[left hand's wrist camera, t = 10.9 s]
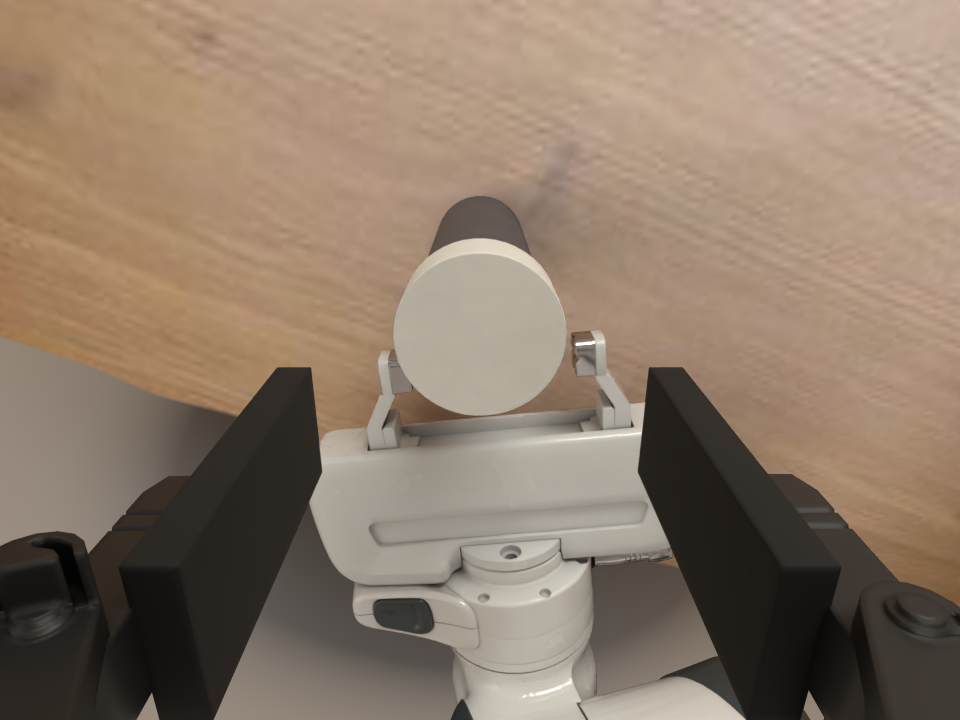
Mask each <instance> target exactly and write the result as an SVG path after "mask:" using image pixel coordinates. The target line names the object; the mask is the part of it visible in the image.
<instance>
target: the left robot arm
mask: <svg viewBox="0 0 960 720" xmlns="http://www.w3.org/2000/svg"><path fill="white" fill-rule="evenodd" d="M321 474H322V463H321V454H320V445H319V436H318V427H317V418H316V409H315V400H314V391H313V381H312V372H311V367H277V368H276V370H275V371H274V372H273V373H272V375H271V376H270V377H269V378H268V380H267V381H266V382H265V383H264V385H263V386H262V387H261V389H260V390H259V391H258V392H257V394H256V395H255V396H254V397H253V399H252V400H251V401H250V402H249V404H248V405H247V406H246V407H245V409H244V410H243V411H242V412H241V414H240V415H239V416H238V417H237V419H236V420H235V421H234V422H233V424H232V425H231V426H230V427H229V429H228V430H227V431H226V432H225V434H224V435H223V436H222V437H221V439H220V440H219V441H218V442H217V444H216V445H215V446H214V447H213V449H212V450H211V451H210V452H209V454H208V455H207V456H206V458H205V459H204V460H203V461H202V462H201V464H200V465H199V466H198V467H197V469H196V470H195V471H194V473H193V474H192V475H191V476H168V477H167V478H165V479H164V480H162V481H160V482H159V483H157V484H156V485H154V486H152V487H151V488H149V489H148V490H146V491H144V492H143V493H142V494H141V495H140V496H139V498H138V499H137V500H136V501H135V502H134V503H133V504H132V505H131V507H130V508H129V509H128V510H127V511H126V515H123V516H122V517H121V518H120V519H119V520H118V521H117V522H116V523H115V525H114V526H113V527H112V531H108V532H107V534H106V535H105V536H104V537H103V538H102V539H101V540H100V541H99V543H98V544H97V545H96V546H95V547H94V548H93V549H92V550H91V551H90V553H89V554H88V553H87V549H86V546H85V542H84V540H82V539H81V538H79V537H78V536H77V535H75V534H72V533H65V532H59V531H56V532H47V533H38V534H34V535H30V536H26V537H23V538H20V539H16V540H13V541H10V542H8V543H6V544H4V545H2V546H0V720H136V719H137V718H138V716H139V714H140V712H141V710H142V709H143V707H144V705H145V703H146V702H147V700H148V698H149V696H150V695H151V693H152V694H153V697H154V701H155V705H156V709H157V712H158V716H159V720H214V718H215V715H216V713H217V711H218V708H219V706H220V704H221V702H222V699H223V697H224V695H225V693H226V690H227V688H228V686H229V683H230V681H231V679H232V677H233V674H234V672H235V670H236V667H237V665H238V663H239V661H240V658H241V656H242V654H243V652H244V649H245V647H246V645H247V642H248V640H249V638H250V636H251V633H252V631H253V629H254V627H255V624H256V622H257V620H258V617H259V615H260V613H261V611H262V608H263V606H264V604H265V601H266V599H267V597H268V595H269V592H270V590H271V588H272V586H273V583H274V581H275V579H276V576H277V574H278V572H279V570H280V567H281V565H282V563H283V561H284V558H285V556H286V554H287V551H288V549H289V547H290V545H291V542H292V540H293V538H294V535H295V533H296V531H297V529H298V526H299V524H300V522H301V520H302V517H303V515H304V513H305V511H306V508H307V506H308V504H309V501H310V499H311V497H312V495H313V492H314V490H315V488H316V486H317V483H318V481H319V479H320V476H321ZM638 474H639V476H640V479H641V481H642V483H643V486H644V488H645V490H646V492H647V495H648V497H649V499H650V501H651V504H652V506H653V508H654V511H655V513H656V515H657V517H658V520H659V522H660V524H661V526H662V529H663V531H664V533H665V536H666V538H667V540H668V542H669V545H670V547H671V549H672V551H673V554H674V556H675V558H676V561H677V563H678V565H679V567H680V570H681V572H682V574H683V576H684V579H685V581H686V583H687V586H688V588H689V590H690V592H691V595H692V597H693V599H694V602H695V604H696V606H697V608H698V611H699V613H700V615H701V617H702V620H703V622H704V624H705V627H706V629H707V631H708V633H709V636H710V638H711V640H712V642H713V645H714V647H715V649H716V652H717V654H718V656H719V658H720V661H721V663H722V665H723V668H724V670H725V672H726V674H727V677H728V679H729V681H730V683H731V686H732V688H733V690H734V693H735V695H736V697H737V699H738V702H739V704H740V706H741V708H742V711H743V713H744V715H745V718H746V720H801V716H802V712H803V709H804V705H805V701H806V698H807V694H808V690H809V691H810V693H811V695H812V697H813V698H814V700H815V702H816V704H817V705H818V707H819V709H820V711H821V713H822V714H823V716H824V720H960V607H958V606H957V605H956V604H955V603H953V602H952V601H950V600H948V599H946V598H944V597H942V596H940V595H938V594H937V593H935V592H933V591H931V590H928V589H925V588H922V587H919V586H916V585H913V584H910V583H904V582H899V581H898V580H897V579H896V578H895V576H894V575H893V574H892V573H891V572H890V571H889V570H888V569H887V568H886V566H885V565H884V564H883V563H882V562H881V561H880V560H879V559H878V557H877V556H876V555H875V554H874V553H873V552H872V551H871V550H870V549H869V547H868V546H867V545H866V544H865V543H864V542H863V541H862V540H861V538H860V537H859V536H858V535H857V534H856V533H855V532H854V531H853V530H852V529H849V527H848V524H847V523H846V522H845V521H844V519H843V518H842V517H841V516H840V515H839V514H838V513H835V512H834V508H833V507H832V506H831V505H830V504H829V503H828V502H827V501H826V499H825V498H824V497H823V496H822V495H821V494H820V493H819V492H818V490H816V489H814V488H813V487H811V486H810V485H808V484H806V483H805V482H803V481H802V480H800V479H798V478H797V477H795V476H794V475H792V474H767V472H766V471H765V470H764V469H763V467H762V466H761V465H760V464H759V462H758V461H757V460H756V459H755V457H754V456H753V455H752V454H751V452H750V451H749V450H748V449H747V447H746V446H745V445H744V444H743V442H742V441H741V440H740V439H739V437H738V436H737V435H736V434H735V432H734V431H733V430H732V429H731V427H730V426H729V425H728V424H727V422H726V421H725V420H724V419H723V417H722V416H721V415H720V414H719V412H718V411H717V410H716V409H715V407H714V406H713V405H712V404H711V402H710V401H709V400H708V399H707V397H706V396H705V395H704V394H703V392H702V391H701V390H700V389H699V387H698V386H697V385H696V383H695V382H694V381H693V380H692V378H691V377H690V376H689V375H688V373H687V372H686V371H685V370H684V368H683V367H649V372H648V381H647V391H646V400H645V409H644V418H643V427H642V436H641V445H640V454H639V463H638Z"/></svg>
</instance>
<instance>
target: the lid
mask: <svg viewBox="0 0 960 720" xmlns="http://www.w3.org/2000/svg"><path fill="white" fill-rule="evenodd" d="M393 338H394V347H395V352H396V356H397V359H398V362H399V365H400V367H401V369H402V370H403V372H404V374H405V376H406V377H407V379H408V380H409V382H410V383H411V384H412V385H413V386H414V387H415V389H416V390H417V391H418V392H420V393H421V394H422V395H423V396H424V397H425V398H427V399H428V400H430V401H431V402H433V403H434V404H436V405H438V406H440V407H442V408H444V409H447V410H450V411H452V412H456V413H460V414H464V415H473V416H488V415H496V414H500V413H504V412H508V411H511V410H513V409H516V408H518V407H520V406H522V405H524V404H526V403H527V402H529V401H530V400H532V399H533V398H535V397H536V396H537V395H538V394H539V393H540V392H542V391H543V390H544V389H545V387H546V386H547V385H548V384H549V383H550V382H551V380H552V379H553V377H554V376H555V374H556V373H557V371H558V368H559V366H560V364H561V362H562V359H563V356H564V352H565V347H566V338H567V330H566V320H565V316H564V312H563V309H562V306H561V304H560V301H559V299H558V297H557V294H556V292H555V289H554V287H553V285H552V282H551V281H550V279H549V277H548V275H547V273H546V272H545V271H544V269H543V268H542V267H541V266H540V264H539V263H538V262H537V261H536V260H535V259H534V258H532V257H531V256H530V255H528V254H527V253H526V252H524V251H523V250H521V249H519V248H517V247H516V246H513V245H511V244H508V243H506V242H502V241H498V240H493V239H486V238H474V239H467V240H461V241H458V242H454V243H451V244H449V245H447V246H444V247H442V248H441V249H439V250H437V251H436V252H434V253H433V254H432V255H430V256H429V257H428V258H426V259H425V260H424V261H423V262H422V264H421V265H420V266H419V267H418V268H417V269H416V271H415V272H414V274H413V275H412V277H411V279H410V281H409V282H408V285H407V287H406V289H405V292H404V294H403V296H402V299H401V301H400V304H399V306H398V309H397V312H396V316H395V321H394V330H393Z"/></svg>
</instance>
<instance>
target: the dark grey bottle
mask: <svg viewBox="0 0 960 720" xmlns="http://www.w3.org/2000/svg"><path fill="white" fill-rule="evenodd" d="M474 238H486V239H493V240H498V241H502V242H506V243H508V244H511V245H513V246H516V247H517V248H519V249H521V250H523V251H524V252H526V253H527V254H528V255H530V256H531V254H530V251H529V248H528V245H527V243H526V240H525V237H524V234H523V231H522V229H521V226H520V223H519V221H518V219H517V217H516V216H515V214H514V213H513V211H512V210H511V209H510V208H509V207H507V206H506V205H505V204H504V203H502V202H500V201H498V200H496V199H493V198H490V197H483V196H477V197H470V198H467V199H464V200H462V201H460V202H458V203H456V204H455V205H454V206H453V207H451V208H450V209H449V210H448V211H447V213H446V214H445V216H444V217H443V219H442V221H441V223H440V226H439V229H438V231H437V234H436V237H435V240H434V243H433V245H432V248H431V251H430V254H429V256H430V255H432V254H433V253H434V252H436V251H437V250H439V249H441V248H442V247H444V246H447V245H449V244H451V243H454V242H458V241H461V240H467V239H474ZM429 256H428V257H429ZM531 257H532V256H531Z"/></svg>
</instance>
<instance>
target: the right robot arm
mask: <svg viewBox="0 0 960 720" xmlns="http://www.w3.org/2000/svg"><path fill="white" fill-rule="evenodd" d="M571 345H572V347H573V349H572V351H571V356H572V365H573V368H575V373H576V376H577V377H580V376H594V378H595V379H596V381H597V382H598V384H599V385H600V387H601V388H602V389H603V390H597V391H596V392H595V397H596V407H588V408H576V409H565V410H554V411H543V412H532V413H521V414H510V415H499V416H488V417H477V418H466V419H454V420H443V421H432V422H421V423H410V424H402V423H401V418H400V412H399V410H398V409H390V407H391V405H392V402H393V400H394V398H395V395H396V394H398V393H407V392H412V390H413V387H414V386H413V385H412V384H411V383H410V382H409V380H408V379H407V377H406V376H405V374H404V372H403V370H402V369H401V367H400V365H399V362H398V359H397V356H396V352H395V350H385V351H381V353H380V356H379V358H378V370H379V376H380V382H381V387H382V391H381V393H380V395H379V398H378V400H377V403H376V405H375V407H374V410H373V412H372V415H371V418H370V420H369V423H368V426H367V427H365V428H354V429H342V430H333V431H329V432H328V433H326V434H325V435H324V437H323V438H322V439H321V441H320V442H319V445H320V454H321V463H322V474H321V476H320V479H319V481H318V483H317V486H316V488H315V490H314V492H313V495H312V497H311V499H310V501H309V504H310V508H311V511H312V514H313V517H314V520H315V523H316V526H317V529H318V532H319V534H320V537H321V539H322V542H323V544H324V547H325V549H326V551H327V554H328V556H329V558H330V560H331V561H332V563H333V564H334V566H335V567H336V569H337V570H338V571H339V572H340V573H341V574H342V575H344V576H345V577H346V578H348V579H350V580H352V581H354V582H355V584H354V592H353V612H354V615H355V618H356V619H357V621H358V622H359V623H361V624H362V625H364V626H367V627H371V628H376V629H382V630H388V631H394V632H399V633H405V634H409V635H414V636H419V637H423V638H427V639H430V640H434V641H437V642H440V643H444V644H446V645H449V646H451V648H452V650H453V652H454V653H455V655H454V659H453V668H452V678H453V686H454V692H455V698H456V703H457V707H456V709H455V711H454V713H453V715H452V718H451V720H746V718H745V715H744V713H743V711H742V708H741V706H740V704H739V702H738V699H737V697H736V695H735V693H734V690H733V688H732V686H731V683H730V681H729V679H728V677H727V674H726V672H725V670H724V668H723V665H722V663H721V661H720V658H719V656H717V657H712V658H710V659H707V660H705V661H702V662H699V663H697V664H694V665H691V666H689V667H686V668H684V669H681V670H678V671H675V672H673V673H670V674H667V675H665V676H663V677H661V678H660V679H659V680H657V681H653V682H649V683H645V684H641V685H638V686H634V687H630V688H626V689H622V690H619V691H615V692H611V693H607V694H604V695H600V696H597V677H596V664H595V658H594V654H593V651H592V648H591V646H590V644H589V640H590V637H591V633H592V630H593V622H594V608H593V584H592V569H591V568H593V566H607V565H619V564H625V563H630V562H635V561H640V560H641V561H647V560H648V561H649V562H657V561H664V560H668V559H671V558H672V556H673V551H672V549H671V547H670V545H669V542H668V540H667V538H666V536H665V533H664V531H663V529H662V526H661V524H660V522H659V520H658V517H657V515H656V513H655V511H654V508H653V506H652V504H651V501H650V499H649V497H648V495H647V492H646V490H645V488H644V486H643V483H642V481H641V479H640V476H639V474H638V463H639V454H640V445H641V436H642V427H643V418H644V409H645V402H643V403H632V404H630V403H629V401H628V399H627V397H626V395H625V393H624V391H623V389H622V387H621V386H620V384H619V383H618V382H617V380H616V379H615V377H614V376H613V374H612V373H611V372H610V370H609V369H608V367H607V363H606V343H605V338H604V336H603V334H602V332H601V330H594V331H584V332H574V333H571ZM389 409H390V410H389ZM801 720H810V719H809V717H808V716H807V714H806V712H805V711H804V710H803V712H802V716H801Z"/></svg>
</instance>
